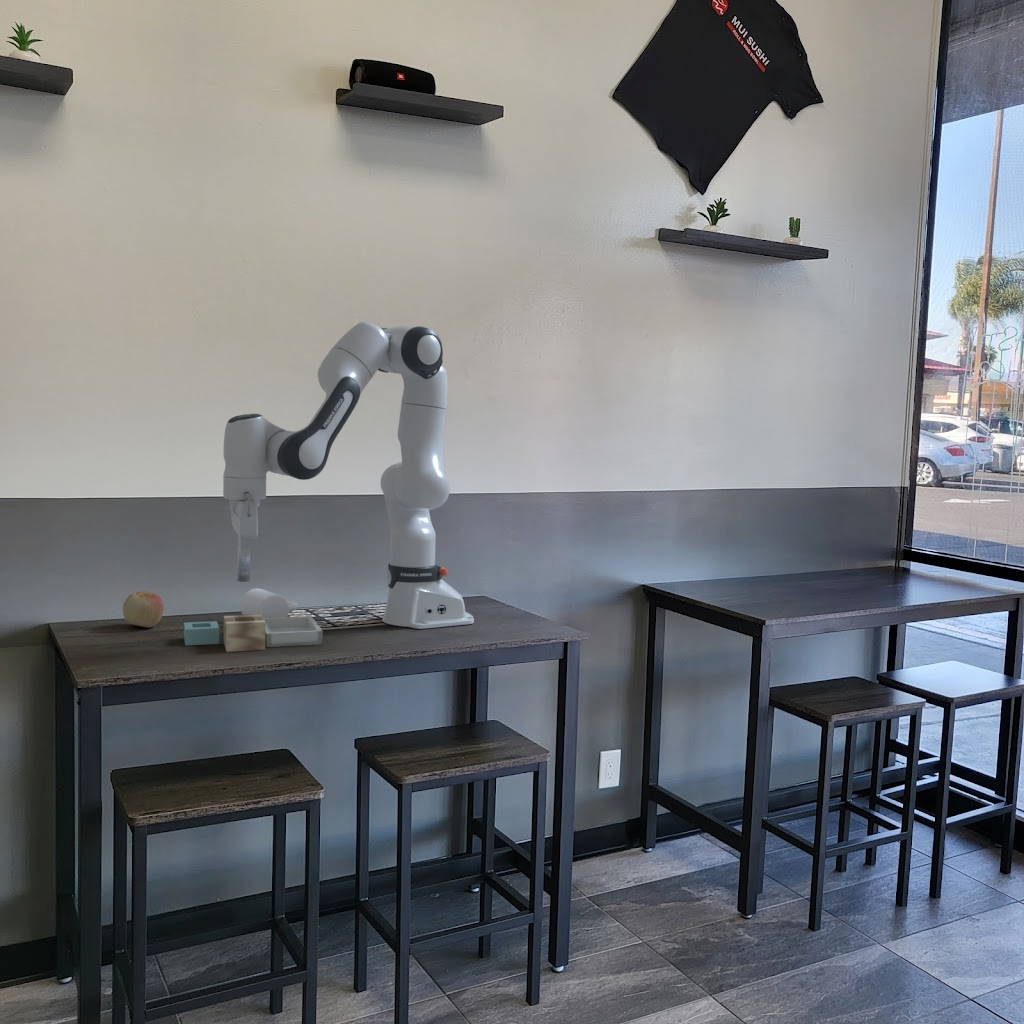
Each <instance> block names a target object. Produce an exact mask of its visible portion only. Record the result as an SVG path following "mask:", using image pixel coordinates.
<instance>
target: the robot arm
mask: <svg viewBox="0 0 1024 1024" xmlns="http://www.w3.org/2000/svg"><path fill="white" fill-rule="evenodd" d="M443 352H444V350H443V345H442V341H441V338H440V336H439V334H438V333H437V332H435V331H434V330H432V329H430V328H427V327H424V326H418V325H417V326H413V325H412V326H411V325H399V326H393V327H380V326H378V325H377V324H376V323H375V324H374V323H373V322H370V321H362V322H358V323H357V324H356V325H355V324H354V326H353V327H351V328H350V329H349V330H348V331H347V332H346V333H345V334H344V335H343V336H342V337H340V339H338V341H337V342H336V343H335V344H334V345H333V347H331V349H330V350H329V352H328V353H327V354H326V356H325V357H324V358H323V360H322V362H321V364H320V366H319V367H318V370H317V379H318V383H319V386H320V387H321V389H322V390H323V391H324V393H325V394H326V395H325V399H324V401H323V402H322V403H321V405H320V407H319V408H318V410H317V411H316V412H315V414H314V416H313V417H312V419H311V420H310V422H309V423H308V424H307V425H306V426H305V427H304V428H302V429H299V430H296V431H295V430H294V431H292V430H286V429H284V428H282V427H279V426H278V425H276V424H274V423H272V422H270V421H269V420H267V419H266V418H265V417H264V416H263V415H262V414H261V413H248V414H247V413H246V414H240V415H235V416H233V417H230V419H228V420H227V422H226V425H225V429H224V436H223V459H224V464H225V466H224V471H223V478H222V479H223V480H222V481H223V482H222V483H223V487H222V489H223V492H222V493H223V494H222V495H223V499H225V500H229V503H228V505H229V509H230V510H229V511H230V520H231V525H232V528H233V529H234V531H235V533H236V534H237V536H238V535H239V537H240V538H241V555H242V556H243V557H248V556H250V557H251V545H252V540H253V539H254V540H255V539H257V538H258V535H259V515H258V514H259V512H258V511H259V510H258V507H260V506H261V500H265V499H267V474H268V472H270V473H272V474H278V475H282V476H289V477H291V478H295V479H297V480H300V481H301V480H302V481H303V480H304V481H306V480H311V479H313V478H316V477H317V476H318V475H320V473H322V472H323V470H324V468H325V466H326V464H327V461H328V459H329V455H330V452H331V451H330V450H331V448H332V446H333V443H334V442H335V440H336V438H337V437H338V435H339V434H340V432H341V431H342V429H343V427H344V426H345V424H346V423H347V421H348V419H349V417H350V416H351V415H352V413H353V411H354V410H355V408H356V406H357V404H358V402H359V400H360V398H361V394H362V392H363V391H364V389H365V388H366V386H367V385H368V384H369V382H370V381H371V380H372V378H373V377H374V376H375V375H376V373H377V371H379V372H382V373H391V374H398V375H401V377H402V382H403V391H402V397H401V402H400V403H401V404H400V410H399V411H400V413H399V420H398V426H397V427H398V428H397V439H398V441H399V446H400V453H401V454H400V455H401V461H400V462H397V463H394V464H391V465H390V466H388V467H387V468H386V469H385V470H384V471H383V472H382V474H381V478H380V487H381V488H380V489H381V491H382V493H383V495H384V500H385V501H384V502H385V507H386V513H387V519H388V525H389V537H390V539H389V541H390V542H389V544H390V545H389V563H388V565H387V566H388V567H387V575H386V578H387V580H386V581H387V583H386V584H387V586H388V591H387V598H386V605H385V608H384V613H383V616H382V619H381V621H382V622H383V623H385V624H388V625H392V626H397V627H406V628H407V627H408V628H412V629H416V630H417V629H420V630H422V629H432V628H433V629H434V628H443V627H453V626H463V625H471V624H474V622H475V619H474V616H473V615H472V614H471V613H469V612H467V611H466V606H465V601H464V599H463V596H462V595H461V593H459V592H458V591H457V590H456V589H455V588H453V587H452V586H451V585H450V584H449V583H447V582H446V581H445V580H443V577H447V576H448V575H449V570H448V569H447V568H446V567H444V566H442V567H441V566H439V565H438V564H436V544H437V543H436V536H437V535H436V531H435V528H434V527H433V523H432V519H431V514H430V511H431V510H435V509H437V508H440V507H442V506H443V505H444V504H445V503H446V502H447V500H448V498H449V495H450V493H451V492H450V491H451V487H450V482H449V479H448V477H447V475H446V465H445V457H444V456H445V454H444V436H445V433H444V432H445V427H446V424H445V423H446V415H447V408H448V397H449V396H448V394H449V392H448V391H449V386H448V385H449V384H448V383H449V381H448V373H447V371H446V368H445V367H444V366H443V356H444V355H443V354H444V353H443Z"/></svg>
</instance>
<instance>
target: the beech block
mask: <svg viewBox="0 0 1024 1024" xmlns="http://www.w3.org/2000/svg"><path fill="white" fill-rule="evenodd" d="M223 645H224V648H225V651H226V652H227V653H228V652H229V653H231V652H244V651H245V652H247V651H265V650H266V645H265V620H264V619H263V617H262V615H243V614H242V615H241V614H240V615H223Z"/></svg>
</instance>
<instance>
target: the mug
mask: <svg viewBox="0 0 1024 1024" xmlns="http://www.w3.org/2000/svg"><path fill="white" fill-rule="evenodd" d="M239 607H240V611H241V612H240V613H241V614H242V615H262V617H263V618H279V617H289V613H290V612H293V611H296V610H298V608H299V605H298V603H297V602H295V601H291V600H290V601H289V600H288V601H287V599H286V598H285V597H284V596H282V595H280V594H277V593H273V592H271V591H268V590H266V589H263V588H258V587H256V588H252V589H249V590H248V591H247V592H245V594H244V595H243V596H242V597H241V600H240V606H239Z"/></svg>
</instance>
